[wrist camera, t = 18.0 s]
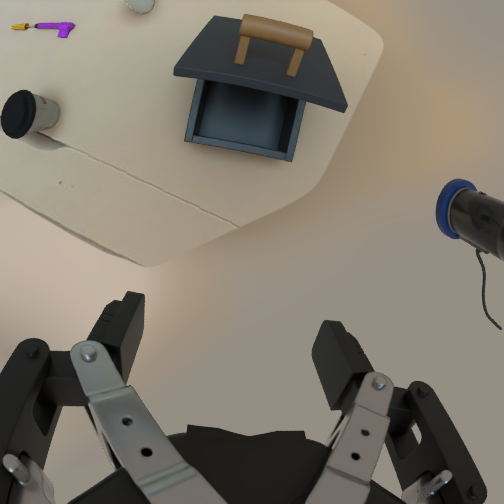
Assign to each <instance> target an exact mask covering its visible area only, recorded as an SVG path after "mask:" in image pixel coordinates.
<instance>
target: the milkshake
mask: <svg viewBox="0 0 504 504" xmlns="http://www.w3.org/2000/svg"><path fill="white" fill-rule="evenodd" d="M122 1H124V2H125V3H126V4H128V5H129V6H130V7H131V8H132V9H133V10H134V11H135V12H136V13H139V14H144V13H146V12H148V11H150V10H151V9H152V8H153V6H154V0H122Z"/></svg>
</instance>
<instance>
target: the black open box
mask: <svg viewBox="0 0 504 504" xmlns="http://www.w3.org/2000/svg"><path fill="white" fill-rule="evenodd" d="M305 104H306V101H303V100H299V99H296V98H292V97H288V96H284V95H280V94H276V93H272V92H268V91H263V90H259V89H254V88H249V87H244V86H239V85H234V84H228V83H223V82H217V81H210V80H203V79H197V84H196V88H195V92H194V96H193V101H192V105H191V110H190V115H189V119H188V124H187V129H186V134H185V139H184V141H185V142H192V143H198V144H204V145H210V146H216V147H221V148H227V149H232V150H237V151H243V152H248V153H253V154H257V155H262V156H267V157H271V158H276V159H280V160H285V161H289V162H292V160H293V156H294V151H295V147H296V143H297V139H298V134H299V130H300V126H301V121H302V117H303V113H304V108H305Z"/></svg>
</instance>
